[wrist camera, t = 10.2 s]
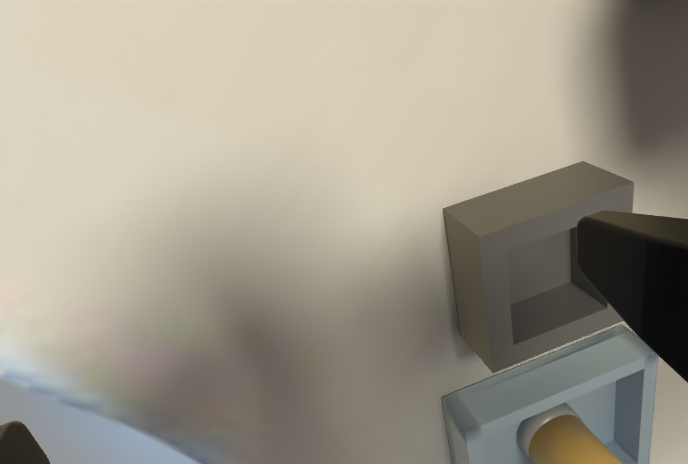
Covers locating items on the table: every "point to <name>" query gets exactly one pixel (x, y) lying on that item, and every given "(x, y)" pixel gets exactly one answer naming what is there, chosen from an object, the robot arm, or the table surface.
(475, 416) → the tray
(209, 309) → the table surface
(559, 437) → the fuse
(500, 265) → the holder
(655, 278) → the robot arm
